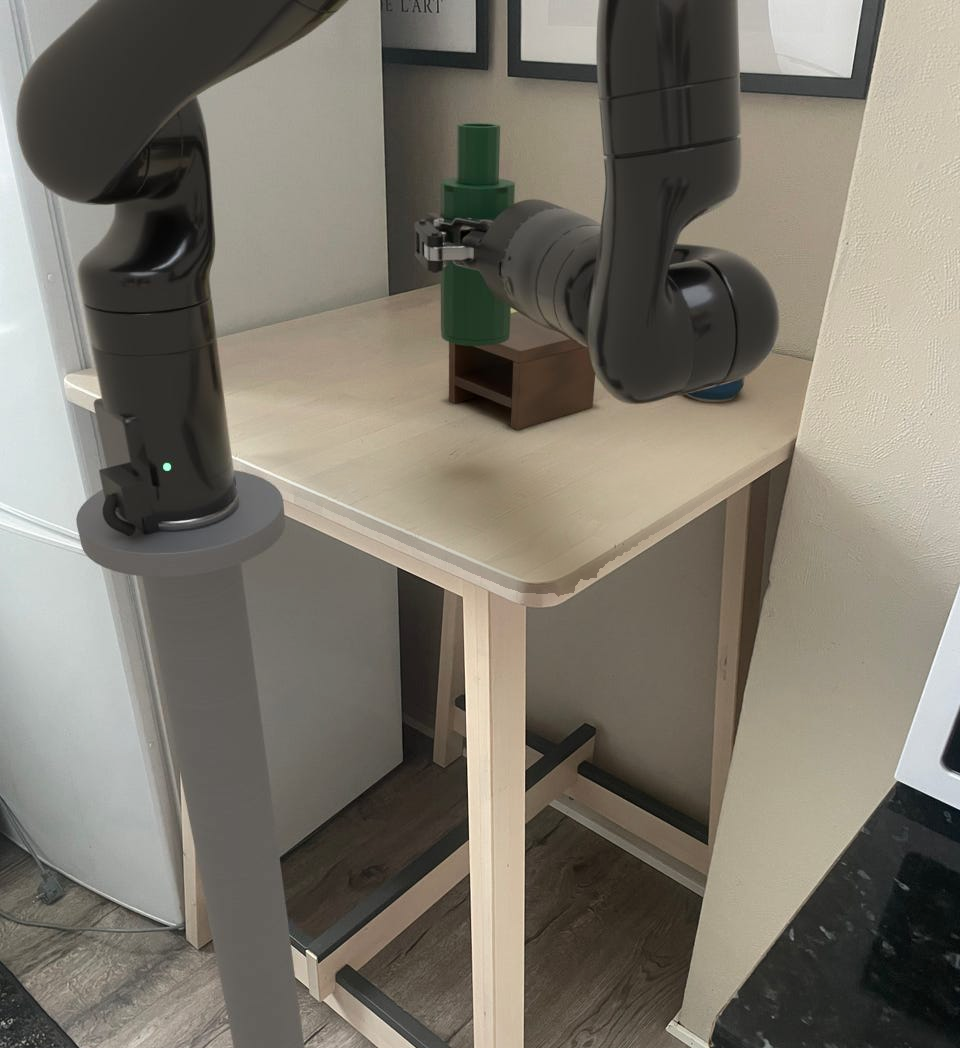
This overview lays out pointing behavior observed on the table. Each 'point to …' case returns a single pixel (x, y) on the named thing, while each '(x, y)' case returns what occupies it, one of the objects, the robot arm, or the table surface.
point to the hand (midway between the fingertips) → (465, 224)
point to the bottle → (480, 195)
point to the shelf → (525, 373)
